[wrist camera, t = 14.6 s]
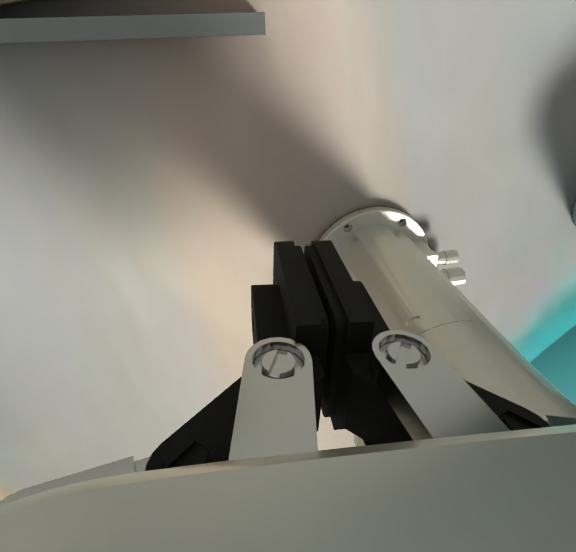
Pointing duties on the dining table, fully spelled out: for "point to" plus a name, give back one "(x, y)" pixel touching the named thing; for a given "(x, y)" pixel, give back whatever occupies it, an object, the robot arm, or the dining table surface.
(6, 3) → the decorative tile
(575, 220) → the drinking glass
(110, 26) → the box
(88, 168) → the dining table surface
